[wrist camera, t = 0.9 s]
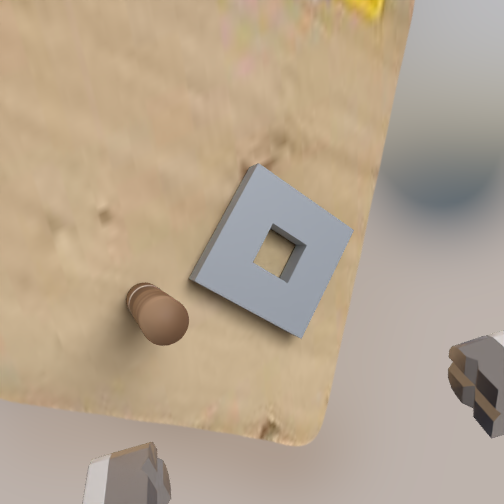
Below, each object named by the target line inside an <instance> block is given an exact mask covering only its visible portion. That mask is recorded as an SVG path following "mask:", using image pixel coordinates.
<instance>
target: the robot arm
mask: <svg viewBox="0 0 504 504" xmlns="http://www.w3.org/2000/svg"><path fill="white" fill-rule="evenodd" d="M449 358H450V359H451V360H452V361H453V363H452V364H451V366H450V367H449V368H448V379H449V382H450V385H451V388H452V390H453V391H454V393H455V395H456V396H457V397H458V399H459V400H460V401H461V402H462V403H463V404H465V405H467V406H470V407H472V408H473V417H474V418H475V419H476V421H477V422H478V423H479V424H480V425H481V427H482V428H483V429H484V430H485V431H486V433H487V434H488V435H489V436H490V437H491V438H495V437H498V436H501V435H504V330H502V331H499V332H496V333H492V334H489V335H487V336H482V337H479V338H476V339H473V340H470V341H467V342H464V343H461V344H458V345H455V346H452V347H451V349H450V350H449ZM170 499H171V487H170V480H169V474H168V471H167V468H166V465H165V463H164V461H163V460H161V459H159V458H157V448H156V447H155V445H154V443H153V442H149V443H146V444H142V445H139V446H136V447H132V448H128V449H125V450H122V451H118V452H114V453H111V454H108V455H105V456H101V457H98V458H95V459H92V460H91V463H90V465H89V467H88V472H87V478H86V484H85V490H84V496H83V502H82V504H168V503H169V501H170Z"/></svg>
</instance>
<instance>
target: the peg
mask: <svg viewBox="0 0 504 504" xmlns="http://www.w3.org/2000/svg"><path fill="white" fill-rule="evenodd" d="M126 304H127V307H128V309H129V311H130V313H131V315H132V316H133V317H134V319H135V320H136V322H137V324H138V325H139V327H140V329H141V330H142V332H143V333H144V335H145V337H146V338H147V339H148V340H149V341H151V342H152V343H154V344H157V345H170V344H173V343H175V342H177V341H178V340H180V339H181V338H182V337H183V336H184V334H185V333H186V331H187V328H188V324H189V316H188V313H187V310H186V309H185V307H184V306H183V305H182V304H181V303H180V302H178V301H177V300H175V299H174V298H172V297H171V296H169V295H168V294H166V293H165V292H163V291H162V290H161V289H159V288H158V287H156V286H154V285H153V284H150V283H139V284H137V285H135V286H133V287H132V288H131V289H130V291H129V292H128V294H127V298H126Z"/></svg>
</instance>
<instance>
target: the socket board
mask: <svg viewBox="0 0 504 504" xmlns="http://www.w3.org/2000/svg"><path fill="white" fill-rule="evenodd" d="M270 228H271V229H272V230H274V231H275V232H277V233H279V234H280V235H282V236H283V237H285V238H286V239H288V240H289V241H291V242H293V243H294V244H296V246H295V248H294V250H293V252H292V254H291V256H290V258H289V260H288V262H287V264H286V266H285V268H284V270H283V272H282V274H281V276H280V278H278V277H276V276H275V275H273V274H271V273H270V272H268V271H266V270H265V269H263V268H261V267H260V266H258V265H256V264H255V263H253V261H254V259H255V257H256V255H257V253H258V251H259V249H260V247H261V245H262V244H263V242H264V240H265V238H266V236H267V234H268V232H269V230H270ZM353 231H354V230H353V229H351V228H350V227H349V226H347V225H346V224H344V223H343V222H341V221H340V220H339V219H337V218H336V217H334V216H333V215H332V214H330V213H329V212H327V211H326V210H324V209H323V208H322V207H320V206H319V205H317V204H316V203H314V202H313V201H312V200H310V199H309V198H307V197H306V196H304V195H303V194H302V193H300V192H299V191H297V190H296V189H294V188H293V187H292V186H290V185H289V184H287V183H286V182H284V181H283V180H282V179H280V178H279V177H277V176H276V175H274V174H273V173H272V172H270V171H269V170H267V169H266V168H264V167H263V166H262V165H260V164H259V163H258V164H256V165H253V166H251V167H249V169H248V171H247V173H246V175H245V177H244V178H243V180H242V182H241V184H240V186H239V187H238V189H237V191H236V193H235V195H234V197H233V198H232V200H231V202H230V204H229V206H228V208H227V209H226V211H225V213H224V215H223V217H222V219H221V220H220V222H219V224H218V226H217V228H216V230H215V231H214V233H213V235H212V237H211V239H210V241H209V242H208V244H207V246H206V248H205V250H204V252H203V253H202V255H201V257H200V259H199V261H198V262H197V264H196V266H195V268H194V270H193V272H192V273H191V275H190V277H189V279H190V280H192V281H194V282H196V283H198V284H199V285H201V286H203V287H205V288H207V289H209V290H211V291H212V292H214V293H216V294H218V295H220V296H222V297H224V298H225V299H227V300H229V301H231V302H233V303H235V304H237V305H238V306H240V307H242V308H244V309H246V310H248V311H249V312H251V313H253V314H255V315H257V316H259V317H261V318H262V319H264V320H266V321H268V322H270V323H272V324H274V325H275V326H277V327H279V328H281V329H283V330H285V331H287V332H288V333H290V334H292V335H295V336H297V337H299V338H301V339H302V337H303V334H304V332H305V330H306V328H307V326H308V324H309V322H310V320H311V318H312V316H313V314H314V312H315V310H316V308H317V305H318V303H319V301H320V299H321V297H322V295H323V293H324V291H325V289H326V287H327V285H328V283H329V281H330V279H331V276H332V274H333V272H334V270H335V268H336V266H337V264H338V262H339V260H340V258H341V256H342V254H343V252H344V250H345V247H346V245H347V243H348V241H349V239H350V237H351V235H352V233H353Z"/></svg>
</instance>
